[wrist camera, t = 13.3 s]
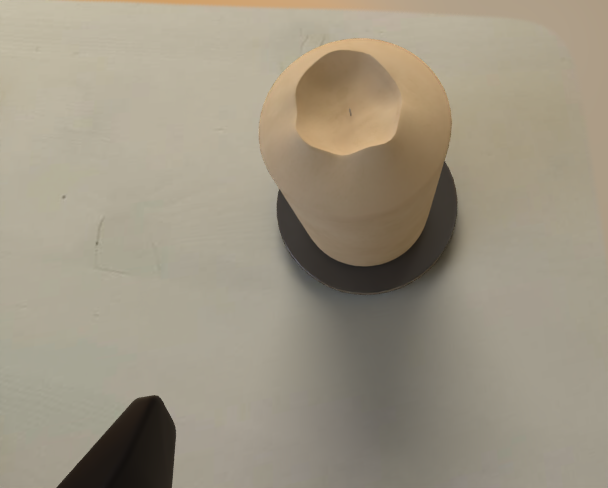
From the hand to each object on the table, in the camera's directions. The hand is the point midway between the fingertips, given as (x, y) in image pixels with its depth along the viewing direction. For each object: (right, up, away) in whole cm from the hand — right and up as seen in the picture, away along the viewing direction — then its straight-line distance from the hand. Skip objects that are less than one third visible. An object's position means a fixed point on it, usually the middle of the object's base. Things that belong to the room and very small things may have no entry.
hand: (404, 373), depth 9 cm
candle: (+1, +4, +14) cm, 15 cm away
